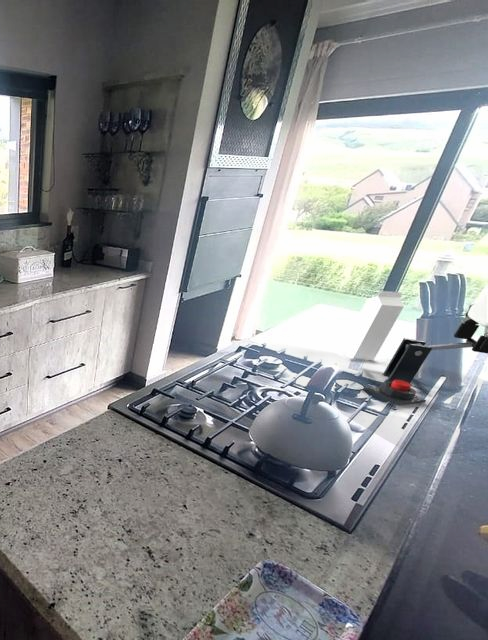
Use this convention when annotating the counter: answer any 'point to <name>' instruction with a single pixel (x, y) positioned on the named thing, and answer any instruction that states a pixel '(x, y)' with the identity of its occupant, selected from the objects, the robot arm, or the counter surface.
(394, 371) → the bracket
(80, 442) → the counter surface
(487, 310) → the robot arm
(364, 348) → the milk
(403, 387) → the button
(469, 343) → the lever
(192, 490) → the counter surface
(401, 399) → the button box
